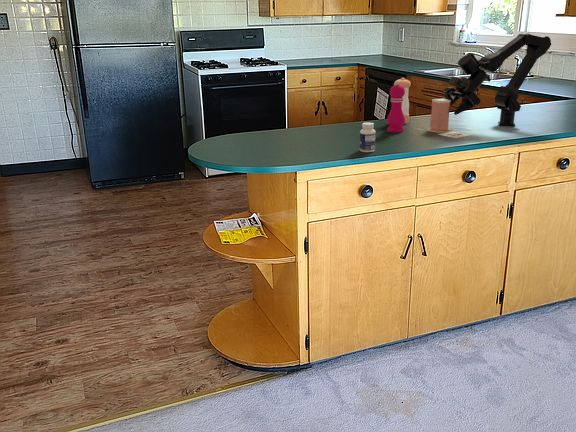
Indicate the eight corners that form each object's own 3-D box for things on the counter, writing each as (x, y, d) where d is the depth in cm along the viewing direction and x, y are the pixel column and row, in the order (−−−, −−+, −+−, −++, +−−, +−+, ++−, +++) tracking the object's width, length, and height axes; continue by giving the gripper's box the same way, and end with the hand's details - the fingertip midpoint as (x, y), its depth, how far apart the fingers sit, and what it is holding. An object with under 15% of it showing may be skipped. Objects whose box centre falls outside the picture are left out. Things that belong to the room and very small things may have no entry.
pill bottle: (358, 149, 210) (358, 122, 207) (372, 148, 211) (373, 121, 207) (361, 152, 205) (361, 125, 202) (376, 152, 206) (377, 124, 202)
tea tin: (441, 128, 242) (443, 98, 238) (448, 130, 237) (450, 100, 233) (429, 129, 240) (432, 99, 236) (436, 131, 236) (439, 101, 232)
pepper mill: (404, 133, 235) (407, 82, 228) (386, 132, 236) (388, 82, 230) (404, 129, 242) (407, 80, 235) (386, 129, 243) (388, 80, 236)
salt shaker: (410, 121, 259) (413, 77, 252) (406, 124, 252) (409, 78, 246) (394, 120, 262) (396, 76, 255) (390, 123, 255) (392, 78, 249)
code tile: (452, 132, 236) (452, 131, 236) (470, 135, 229) (470, 134, 229) (437, 135, 231) (437, 134, 231) (455, 138, 224) (455, 137, 224)
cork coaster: (427, 127, 245) (427, 126, 245) (451, 128, 242) (452, 127, 242) (425, 132, 236) (425, 131, 236) (451, 133, 233) (451, 132, 233)
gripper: (448, 67, 242) (424, 96, 242) (476, 71, 225) (449, 102, 226) (463, 85, 247) (439, 113, 247) (492, 90, 230) (466, 121, 231)
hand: (448, 112), depth 238 cm, fingers open, 9 cm apart
